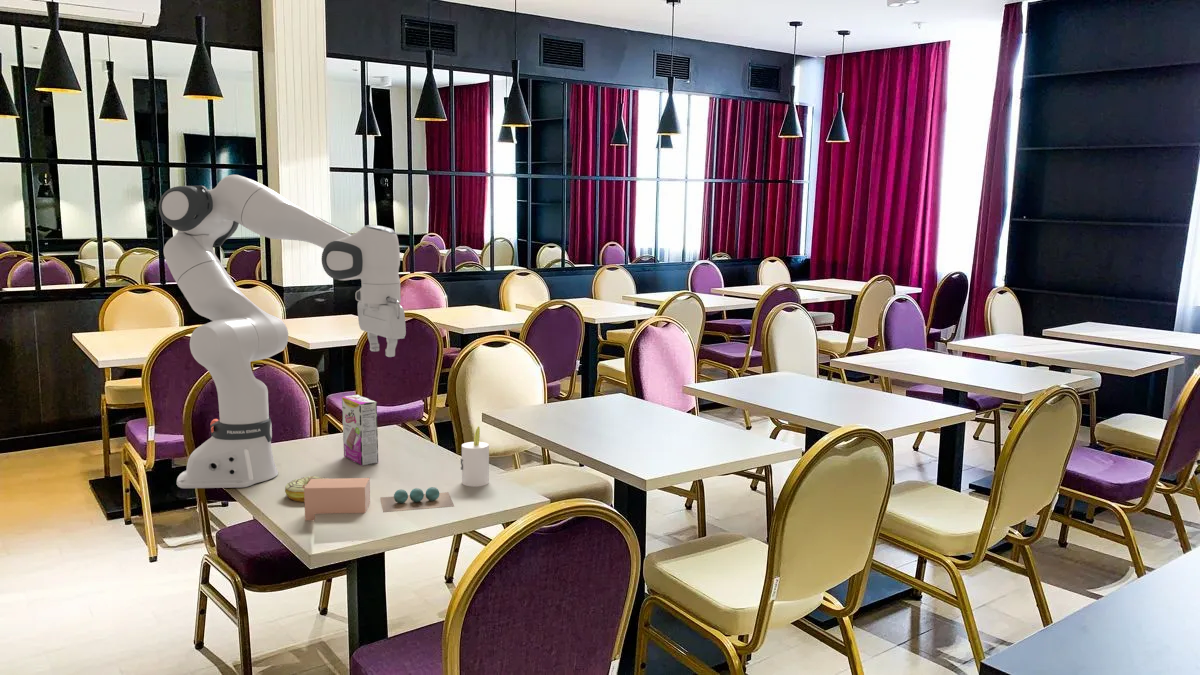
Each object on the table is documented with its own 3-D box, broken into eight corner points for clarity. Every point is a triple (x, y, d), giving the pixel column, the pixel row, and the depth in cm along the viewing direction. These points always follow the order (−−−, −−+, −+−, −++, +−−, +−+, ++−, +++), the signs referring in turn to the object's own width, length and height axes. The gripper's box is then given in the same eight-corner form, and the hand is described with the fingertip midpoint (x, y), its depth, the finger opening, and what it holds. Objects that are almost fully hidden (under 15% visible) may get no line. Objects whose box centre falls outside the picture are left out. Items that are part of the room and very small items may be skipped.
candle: (458, 485, 211) (458, 424, 209) (485, 483, 213) (485, 422, 211) (463, 493, 205) (463, 430, 203) (491, 491, 208) (491, 428, 206)
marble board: (383, 518, 188) (382, 498, 187) (380, 504, 197) (380, 484, 197) (454, 512, 192) (454, 492, 192) (448, 498, 202) (448, 479, 201)
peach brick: (305, 520, 186) (304, 488, 185) (312, 510, 193) (311, 478, 192) (365, 519, 187) (364, 487, 186) (370, 509, 194) (369, 477, 193)
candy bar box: (342, 457, 234) (340, 396, 232) (360, 454, 237) (358, 394, 235) (361, 466, 226) (359, 403, 223) (379, 463, 229) (378, 401, 227)
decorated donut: (339, 489, 208) (339, 473, 208) (326, 504, 197) (326, 487, 197) (294, 488, 208) (294, 473, 207) (279, 503, 197) (278, 487, 197)
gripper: (412, 298, 201) (413, 358, 203) (377, 291, 218) (378, 347, 220) (385, 299, 198) (387, 361, 199) (352, 292, 214) (353, 349, 216)
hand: (382, 353), depth 210 cm, fingers open, 8 cm apart
